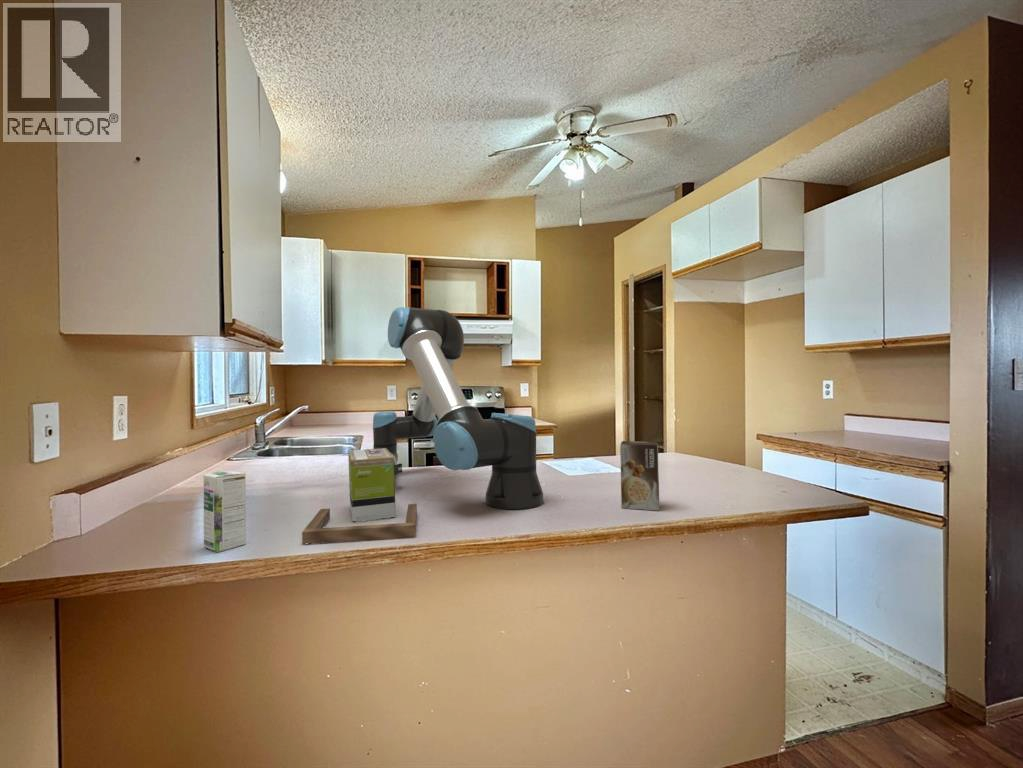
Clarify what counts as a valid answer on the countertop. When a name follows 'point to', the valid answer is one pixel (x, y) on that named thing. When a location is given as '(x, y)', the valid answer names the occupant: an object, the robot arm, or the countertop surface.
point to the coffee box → (639, 475)
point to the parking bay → (358, 529)
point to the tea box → (371, 484)
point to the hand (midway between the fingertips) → (374, 480)
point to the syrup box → (224, 510)
